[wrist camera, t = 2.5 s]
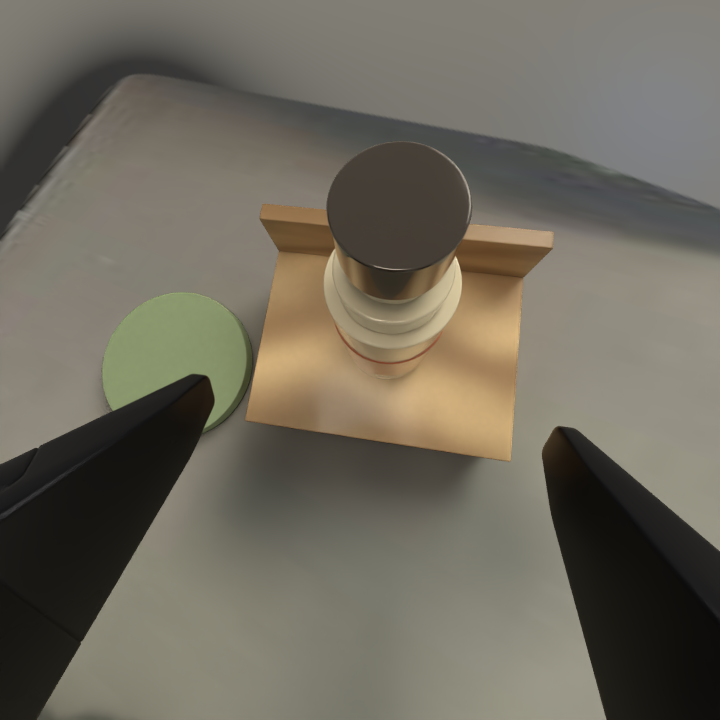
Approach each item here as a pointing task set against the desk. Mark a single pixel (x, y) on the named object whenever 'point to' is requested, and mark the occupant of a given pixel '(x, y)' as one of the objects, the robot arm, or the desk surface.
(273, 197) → the desk surface
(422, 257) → the spice bottle
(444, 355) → the shelf
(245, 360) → the disc
